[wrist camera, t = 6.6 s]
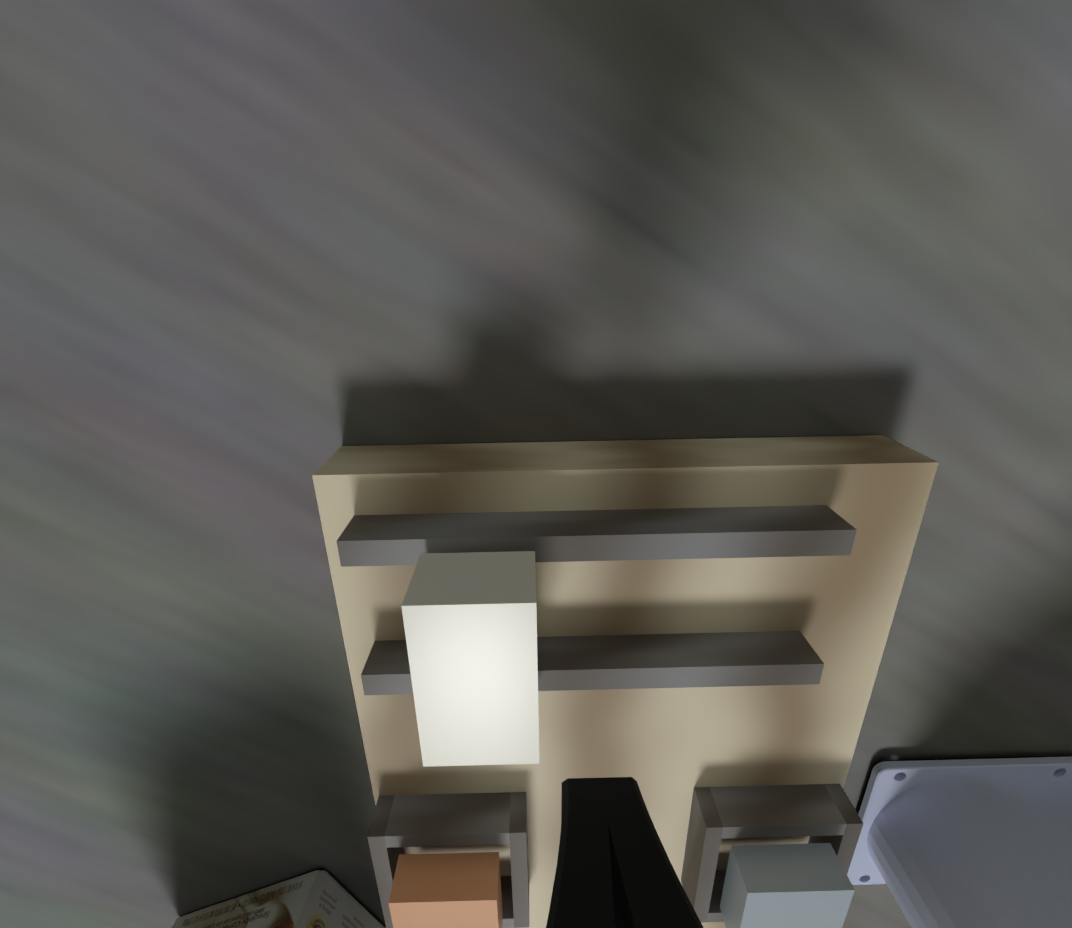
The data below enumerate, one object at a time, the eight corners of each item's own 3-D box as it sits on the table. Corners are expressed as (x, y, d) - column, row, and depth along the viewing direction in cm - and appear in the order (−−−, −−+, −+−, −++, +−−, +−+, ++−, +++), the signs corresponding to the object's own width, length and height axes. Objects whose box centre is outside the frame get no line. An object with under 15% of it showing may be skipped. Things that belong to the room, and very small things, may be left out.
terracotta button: (498, 852, 18) (496, 899, 17) (502, 912, 20) (500, 961, 18) (399, 854, 18) (388, 903, 17) (409, 915, 20) (400, 964, 18)
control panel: (882, 435, 17) (981, 483, 13) (772, 886, 26) (813, 991, 22) (341, 446, 17) (289, 497, 13) (415, 896, 26) (397, 1003, 22)
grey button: (830, 843, 19) (854, 890, 17) (812, 904, 20) (833, 952, 18) (731, 845, 19) (747, 893, 17) (719, 906, 20) (734, 955, 18)
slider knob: (533, 519, 15) (536, 602, 11) (536, 653, 17) (539, 764, 13) (432, 521, 15) (401, 605, 11) (446, 655, 17) (423, 766, 13)
